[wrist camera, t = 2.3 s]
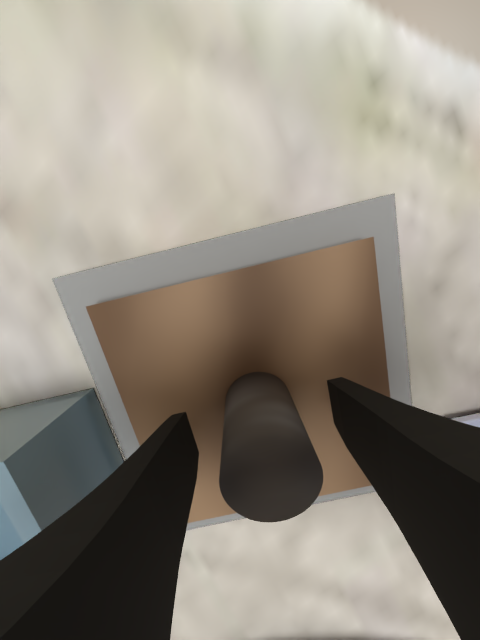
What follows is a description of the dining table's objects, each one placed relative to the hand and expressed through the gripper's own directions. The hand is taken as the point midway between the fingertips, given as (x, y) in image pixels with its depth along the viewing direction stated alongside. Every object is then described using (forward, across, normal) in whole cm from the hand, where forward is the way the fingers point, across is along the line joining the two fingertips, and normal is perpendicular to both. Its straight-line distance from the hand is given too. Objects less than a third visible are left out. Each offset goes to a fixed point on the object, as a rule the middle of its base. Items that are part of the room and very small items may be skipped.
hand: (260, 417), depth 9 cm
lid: (+2, 0, 0) cm, 2 cm away
